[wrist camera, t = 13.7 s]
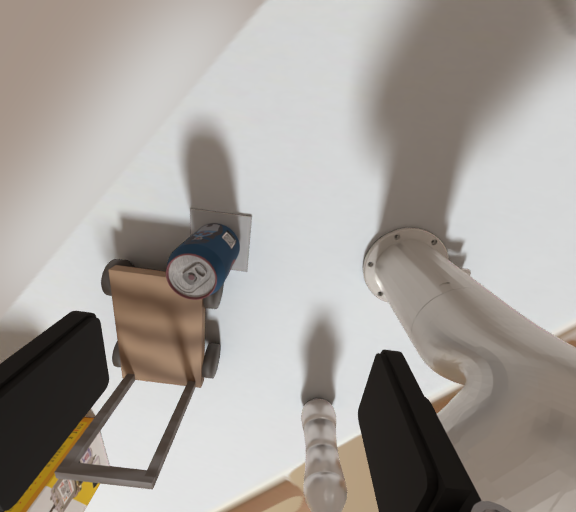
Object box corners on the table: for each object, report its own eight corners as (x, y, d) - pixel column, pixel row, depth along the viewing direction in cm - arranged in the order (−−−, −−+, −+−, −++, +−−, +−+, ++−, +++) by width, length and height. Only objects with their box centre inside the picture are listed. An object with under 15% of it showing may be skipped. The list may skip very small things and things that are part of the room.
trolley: (122, 252, 43) (-16, 336, 24) (224, 265, 44) (168, 359, 25) (133, 351, 51) (34, 476, 32) (219, 362, 51) (174, 491, 32)
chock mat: (251, 216, 40) (251, 217, 40) (247, 271, 44) (246, 271, 44) (191, 208, 40) (190, 208, 40) (191, 263, 44) (190, 264, 43)
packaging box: (110, 466, 64) (4, 648, 41) (41, 461, 64) (-104, 640, 41) (96, 417, 58) (-37, 599, 35) (20, 412, 58) (-164, 589, 35)
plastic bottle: (294, 400, 54) (294, 533, 36) (325, 388, 53) (341, 520, 34) (310, 420, 56) (317, 556, 38) (340, 410, 55) (362, 545, 36)
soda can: (216, 271, 44) (189, 314, 33) (187, 237, 42) (147, 270, 31) (250, 248, 42) (234, 285, 31) (221, 211, 40) (192, 237, 29)
